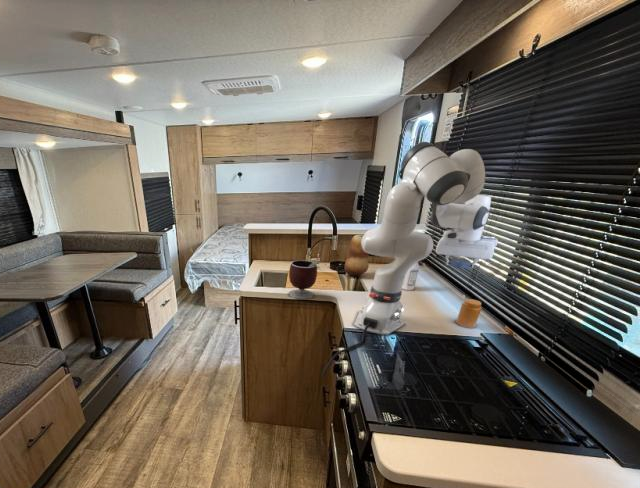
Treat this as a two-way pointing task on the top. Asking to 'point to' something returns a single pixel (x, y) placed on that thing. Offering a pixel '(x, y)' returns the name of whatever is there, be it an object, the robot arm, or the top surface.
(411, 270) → the bath foam
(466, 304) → the jam jar
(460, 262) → the jam lid
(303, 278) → the mate gourd
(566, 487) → the top surface
